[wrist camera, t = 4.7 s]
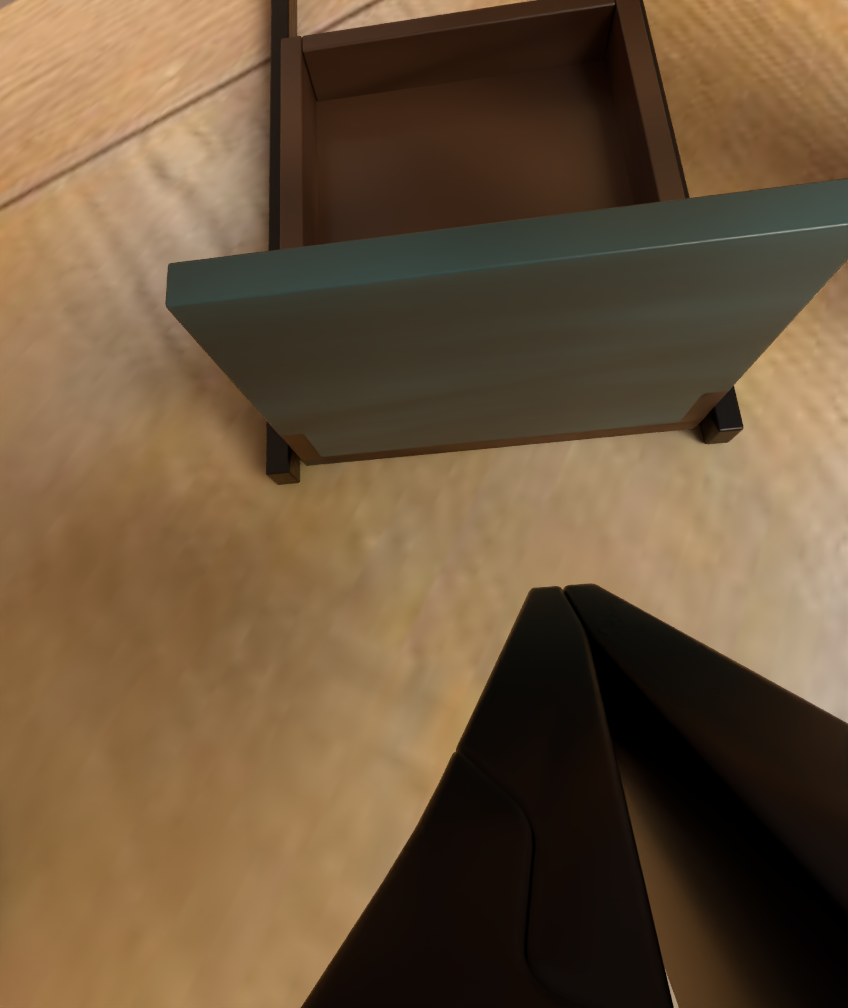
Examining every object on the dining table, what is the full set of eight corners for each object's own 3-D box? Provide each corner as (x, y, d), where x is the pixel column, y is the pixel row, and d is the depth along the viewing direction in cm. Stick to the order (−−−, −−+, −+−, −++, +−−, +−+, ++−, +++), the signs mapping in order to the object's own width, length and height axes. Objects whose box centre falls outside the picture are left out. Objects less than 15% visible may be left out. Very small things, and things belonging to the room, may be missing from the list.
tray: (695, 429, 19) (885, 219, 10) (306, 466, 20) (164, 306, 11) (617, 62, 23) (701, -309, 14) (302, 107, 24) (199, -214, 15)
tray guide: (729, 443, 19) (745, 428, 18) (277, 485, 20) (265, 474, 19) (615, -62, 25) (621, -96, 24) (280, -8, 27) (271, -39, 25)
